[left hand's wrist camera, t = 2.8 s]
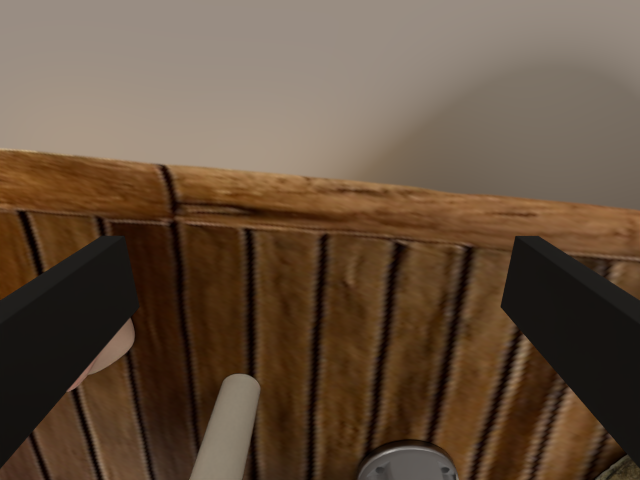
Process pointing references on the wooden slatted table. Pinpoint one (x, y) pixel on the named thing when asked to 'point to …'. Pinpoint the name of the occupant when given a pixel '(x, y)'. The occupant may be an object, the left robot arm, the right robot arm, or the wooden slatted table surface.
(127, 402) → the wooden slatted table surface
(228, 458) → the jar
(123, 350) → the anatomical model
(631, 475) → the fossil
